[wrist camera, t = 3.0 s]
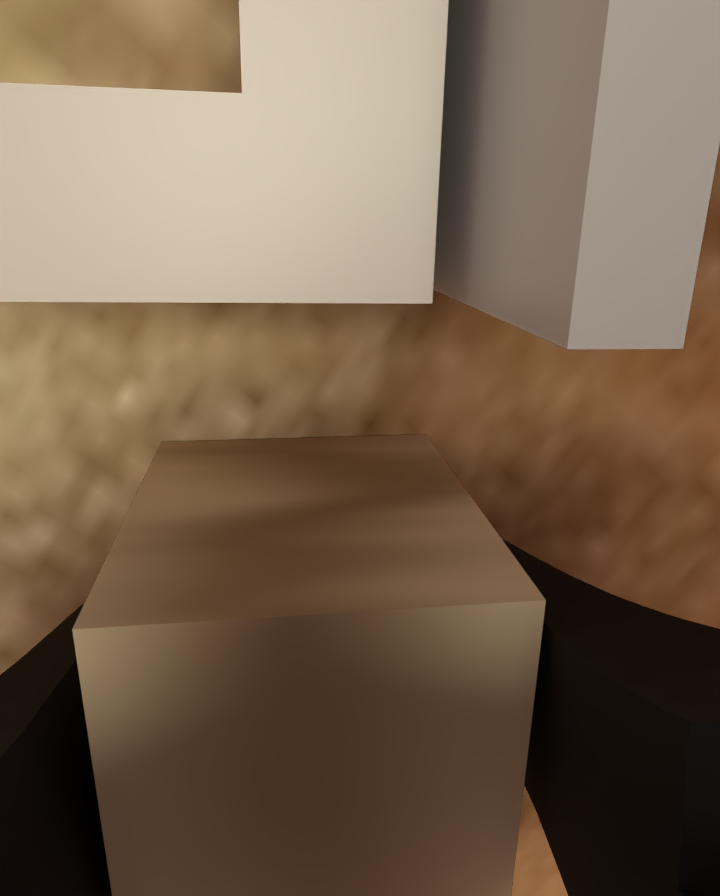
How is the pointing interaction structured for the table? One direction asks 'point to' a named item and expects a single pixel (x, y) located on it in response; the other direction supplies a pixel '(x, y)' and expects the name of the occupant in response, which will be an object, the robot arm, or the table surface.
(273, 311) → the table surface
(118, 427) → the table surface
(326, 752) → the peg
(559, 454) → the table surface
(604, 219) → the housing
